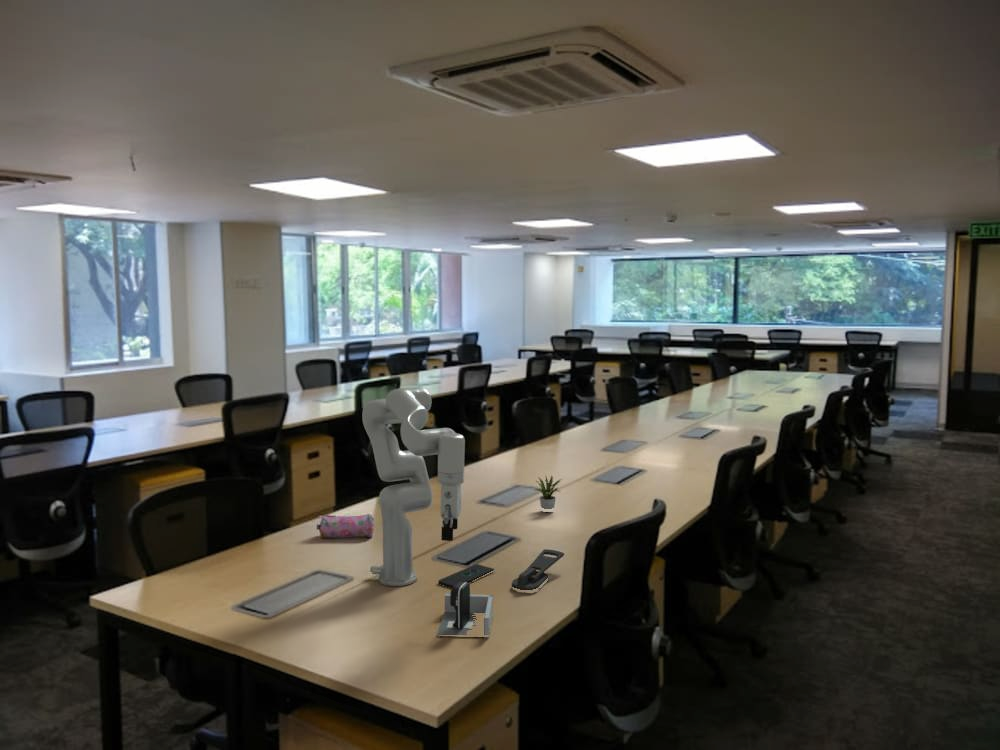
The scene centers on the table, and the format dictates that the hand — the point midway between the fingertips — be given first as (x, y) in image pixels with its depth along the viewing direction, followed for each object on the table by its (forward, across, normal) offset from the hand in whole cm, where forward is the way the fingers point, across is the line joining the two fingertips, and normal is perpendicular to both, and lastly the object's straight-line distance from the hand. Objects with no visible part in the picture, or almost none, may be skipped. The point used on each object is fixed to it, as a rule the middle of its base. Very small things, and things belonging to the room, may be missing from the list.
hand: (449, 534), depth 212 cm
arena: (+23, -8, -6) cm, 25 cm away
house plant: (+27, +109, -29) cm, 116 cm away
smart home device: (+26, +28, -2) cm, 38 cm away
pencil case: (+28, +68, +49) cm, 89 cm away
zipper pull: (+24, +28, -26) cm, 45 cm away
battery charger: (+23, -9, -5) cm, 25 cm away
